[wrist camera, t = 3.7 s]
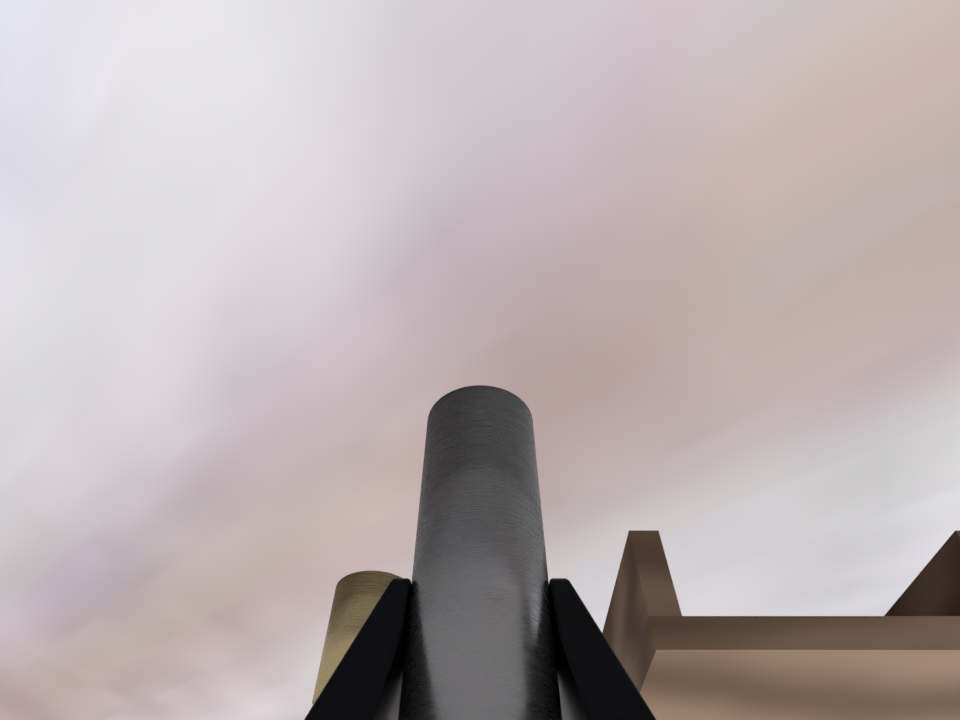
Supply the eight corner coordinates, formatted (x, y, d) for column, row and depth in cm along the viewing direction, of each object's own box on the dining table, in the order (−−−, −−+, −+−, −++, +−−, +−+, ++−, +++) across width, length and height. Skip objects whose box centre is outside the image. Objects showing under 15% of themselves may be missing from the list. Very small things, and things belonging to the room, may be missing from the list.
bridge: (628, 530, 20) (656, 649, 17) (985, 530, 20) (1078, 650, 17) (579, 720, 30) (591, 817, 27) (816, 720, 30) (855, 817, 27)
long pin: (424, 385, 16) (371, 863, 8) (536, 385, 16) (589, 863, 8) (430, 460, 18) (391, 908, 10) (529, 460, 18) (568, 908, 10)
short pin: (329, 570, 22) (303, 686, 18) (411, 570, 22) (400, 686, 18) (341, 612, 23) (320, 724, 20) (417, 612, 23) (407, 724, 20)
